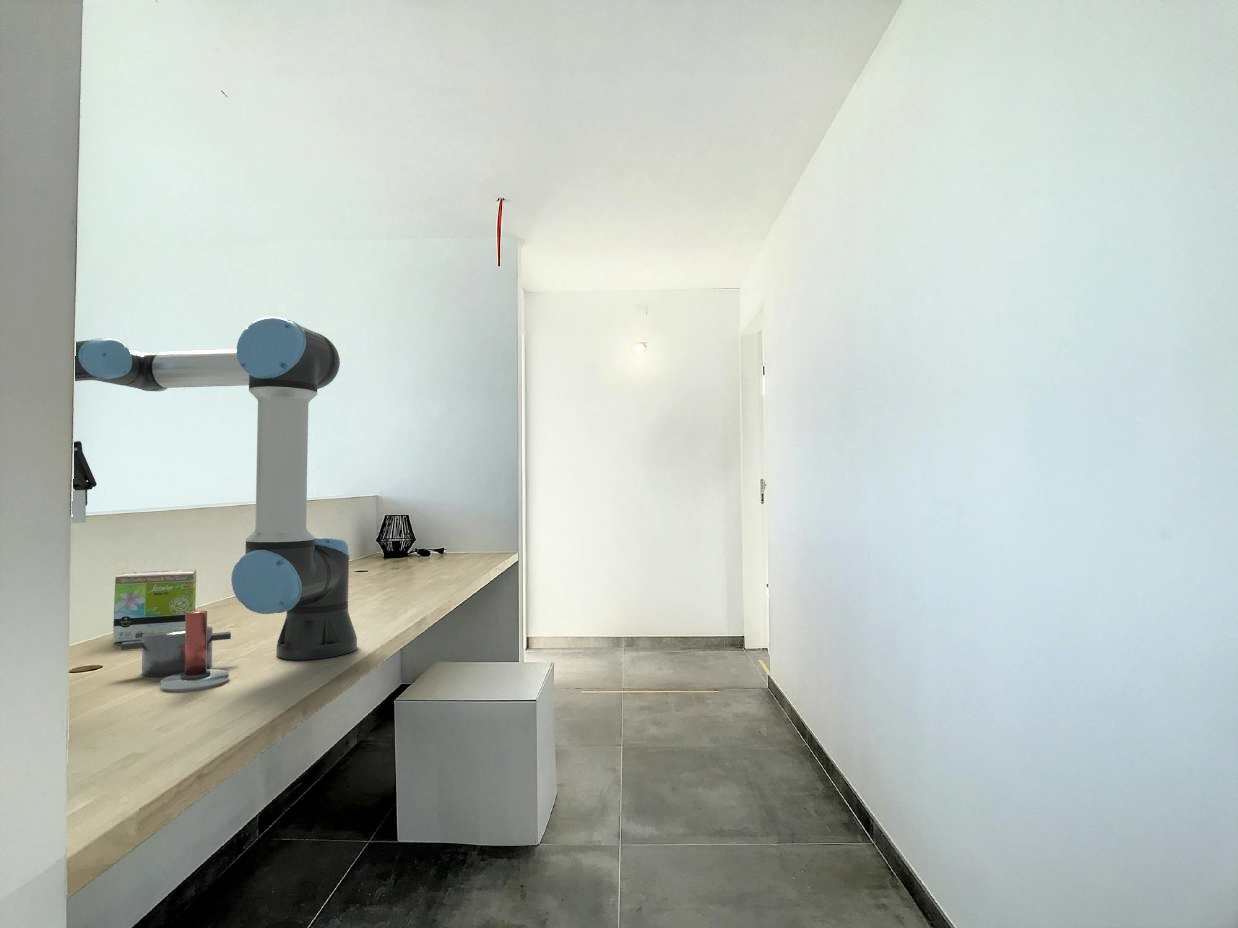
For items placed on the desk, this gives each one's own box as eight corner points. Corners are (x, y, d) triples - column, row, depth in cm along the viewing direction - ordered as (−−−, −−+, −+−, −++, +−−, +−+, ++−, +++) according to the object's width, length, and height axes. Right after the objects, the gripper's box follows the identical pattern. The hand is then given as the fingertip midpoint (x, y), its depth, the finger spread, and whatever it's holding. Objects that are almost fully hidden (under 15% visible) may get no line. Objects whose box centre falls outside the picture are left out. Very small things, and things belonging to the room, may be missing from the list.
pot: (228, 657, 139) (229, 621, 139) (231, 669, 129) (231, 630, 130) (124, 669, 130) (124, 631, 130) (118, 682, 120) (119, 641, 121)
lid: (241, 676, 124) (242, 607, 125) (203, 692, 114) (204, 617, 115) (188, 675, 125) (189, 607, 126) (145, 691, 115) (147, 617, 116)
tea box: (112, 644, 153) (113, 576, 153) (120, 635, 162) (121, 571, 162) (192, 636, 160) (193, 571, 160) (195, 629, 169) (196, 567, 169)
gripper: (83, 423, 148) (85, 523, 147) (-40, 406, 123) (-38, 527, 122) (115, 420, 147) (118, 520, 146) (-2, 402, 123) (0, 524, 121)
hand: (47, 523), depth 134 cm, fingers open, 13 cm apart
